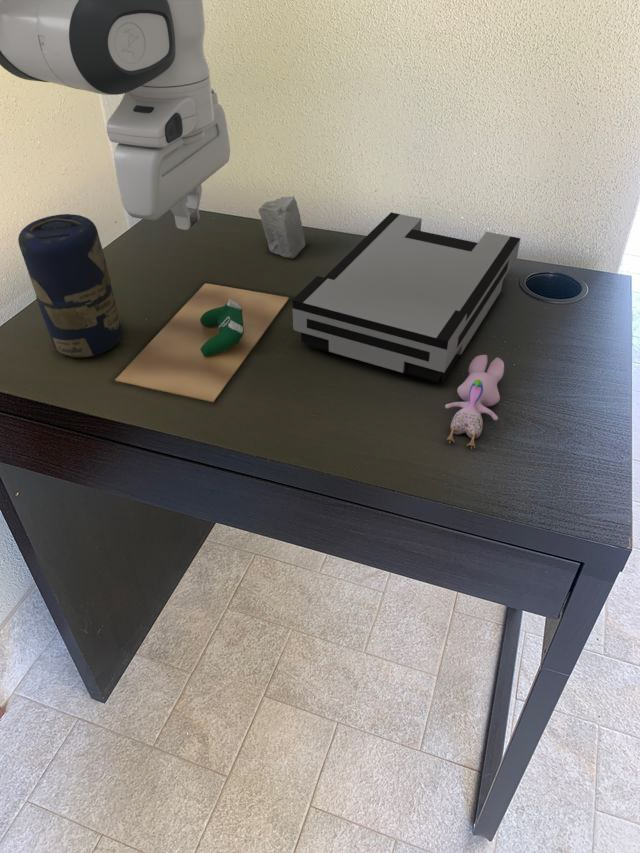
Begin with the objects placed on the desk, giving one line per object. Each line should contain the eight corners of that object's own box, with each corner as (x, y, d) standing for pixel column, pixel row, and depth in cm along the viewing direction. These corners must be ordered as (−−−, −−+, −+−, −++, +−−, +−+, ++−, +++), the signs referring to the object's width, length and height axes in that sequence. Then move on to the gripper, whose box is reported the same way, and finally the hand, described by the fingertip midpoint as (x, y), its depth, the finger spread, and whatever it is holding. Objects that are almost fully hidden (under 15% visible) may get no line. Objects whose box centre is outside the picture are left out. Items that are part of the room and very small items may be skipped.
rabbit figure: (486, 461, 78) (514, 371, 86) (492, 427, 73) (521, 336, 82) (432, 446, 80) (466, 360, 88) (435, 413, 75) (470, 326, 84)
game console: (512, 280, 106) (522, 230, 100) (440, 396, 85) (448, 341, 79) (388, 252, 113) (391, 204, 108) (294, 353, 92) (292, 299, 87)
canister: (115, 363, 91) (81, 236, 79) (44, 363, 91) (0, 237, 79) (131, 323, 98) (102, 202, 86) (65, 324, 98) (28, 203, 86)
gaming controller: (220, 369, 92) (249, 340, 90) (197, 354, 90) (227, 324, 88) (218, 331, 99) (245, 304, 97) (197, 317, 97) (225, 288, 95)
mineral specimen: (310, 232, 118) (308, 192, 111) (298, 265, 113) (295, 225, 106) (269, 227, 119) (264, 187, 112) (255, 260, 114) (250, 219, 107)
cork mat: (213, 402, 84) (213, 401, 84) (115, 381, 88) (114, 379, 88) (289, 298, 103) (289, 297, 102) (205, 284, 106) (205, 283, 106)
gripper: (190, 78, 83) (203, 190, 92) (95, 130, 68) (122, 257, 77) (237, 83, 82) (246, 196, 91) (151, 137, 67) (171, 265, 76)
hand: (188, 224), depth 84 cm, fingers closed
